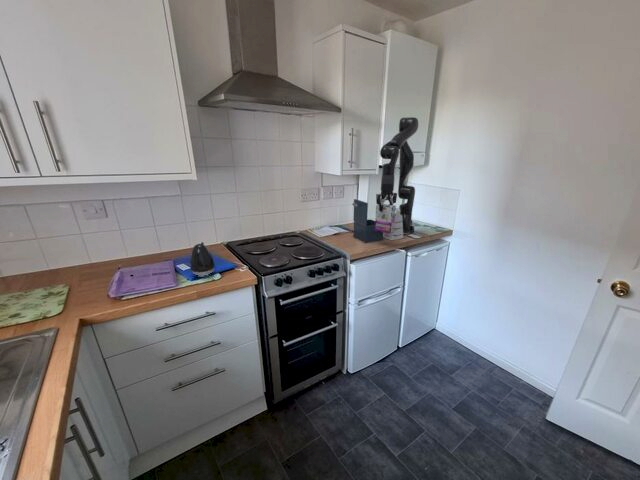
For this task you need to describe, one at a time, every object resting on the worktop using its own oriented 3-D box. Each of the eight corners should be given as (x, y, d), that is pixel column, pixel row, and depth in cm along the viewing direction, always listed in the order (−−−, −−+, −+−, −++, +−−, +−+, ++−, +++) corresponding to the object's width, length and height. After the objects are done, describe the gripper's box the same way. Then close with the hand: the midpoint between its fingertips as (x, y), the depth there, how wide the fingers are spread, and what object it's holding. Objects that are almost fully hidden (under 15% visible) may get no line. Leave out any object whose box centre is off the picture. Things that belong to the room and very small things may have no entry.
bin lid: (354, 198, 194) (348, 199, 191) (367, 202, 182) (360, 203, 180) (354, 220, 199) (347, 221, 197) (366, 225, 187) (360, 226, 185)
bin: (369, 234, 210) (370, 219, 206) (382, 240, 198) (383, 224, 194) (353, 236, 203) (353, 221, 199) (365, 243, 191) (366, 226, 187)
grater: (391, 240, 198) (393, 210, 191) (381, 236, 206) (383, 207, 199) (403, 238, 203) (406, 209, 196) (393, 234, 212) (395, 206, 204)
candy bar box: (394, 231, 184) (396, 205, 178) (390, 233, 180) (392, 206, 174) (378, 228, 190) (379, 203, 184) (374, 230, 186) (375, 204, 180)
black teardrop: (218, 269, 146) (213, 240, 140) (213, 278, 136) (208, 247, 131) (196, 270, 144) (190, 240, 139) (189, 279, 135) (182, 248, 129)
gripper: (381, 184, 168) (379, 213, 174) (401, 182, 174) (399, 211, 181) (373, 182, 174) (372, 210, 180) (393, 181, 180) (391, 208, 187)
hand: (385, 210), depth 180 cm, fingers closed on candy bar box, 6 cm apart
